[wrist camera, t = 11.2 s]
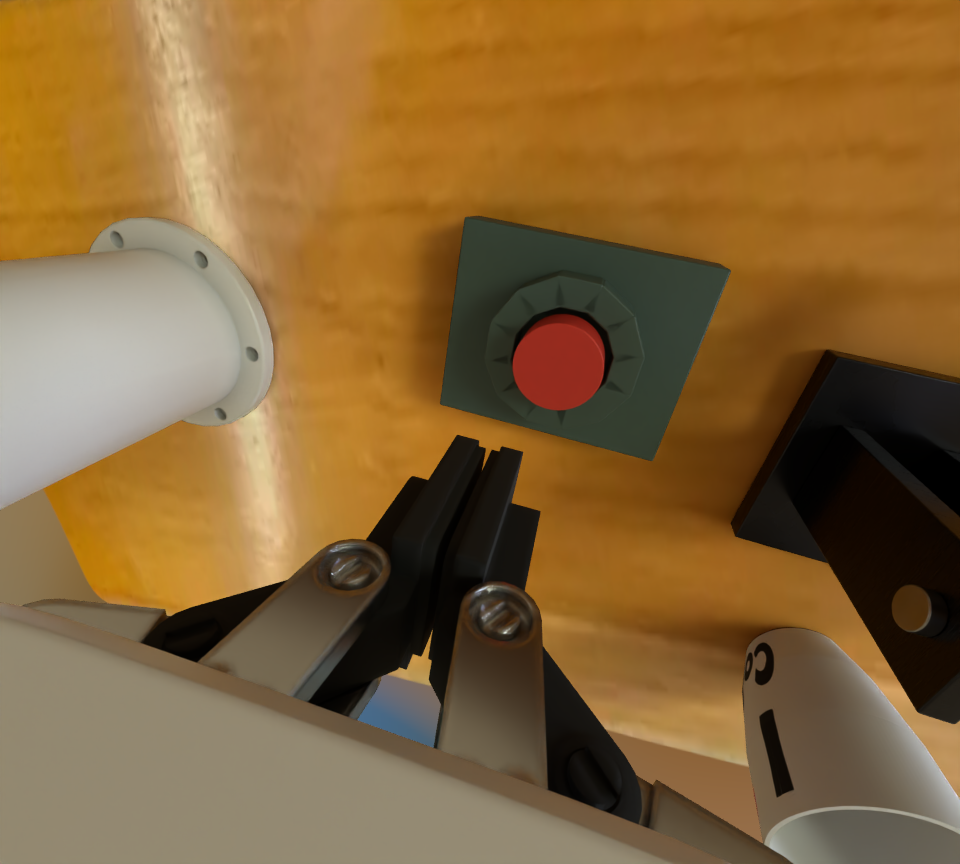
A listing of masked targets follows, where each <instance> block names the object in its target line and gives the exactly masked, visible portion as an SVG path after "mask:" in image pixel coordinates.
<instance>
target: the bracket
mask: <svg viewBox="0 0 960 864" xmlns="http://www.w3.org/2000/svg"><path fill="white" fill-rule="evenodd" d="M731 526H732V529H733V532H734V534H735V536H736V537H738V538H742V539H745V540H749V541H752V542H756V543H759V544H763V545H766V546H770V547H773V548H777V549H780V550H784V551H787V552H791V553H794V554H798V555H801V556H805V557H808V558H812V559H815V560H819V561H822V562H826V563H828V564H829V565H830V567H831V569H832V570H833V572H834V574H835V575H836V577H837V579H838V580H839V582H840V584H841V585H842V587H843V589H844V590H845V592H846V594H847V595H848V597H849V599H850V600H851V602H852V604H853V605H854V607H855V609H856V610H857V612H858V614H859V615H860V617H861V619H862V620H863V622H864V624H865V625H866V627H867V629H868V630H869V632H870V634H871V635H872V637H873V639H874V640H875V642H876V644H877V646H878V647H879V649H880V651H881V652H882V654H883V656H884V657H885V659H886V661H887V662H888V664H889V666H890V667H891V669H892V671H893V672H894V674H895V676H896V677H897V679H898V681H899V682H900V684H901V686H902V687H903V689H904V691H905V692H906V694H907V696H908V697H909V699H910V701H911V702H912V704H913V706H914V707H915V709H916V711H917V712H918V713H920V714H923V715H926V716H929V717H933V718H936V719H939V720H942V721H945V722H948V723H951V724H956V723H957V722H959V721H960V378H957V377H952V376H947V375H943V374H938V373H934V372H929V371H925V370H920V369H915V368H911V367H906V366H902V365H897V364H893V363H888V362H883V361H879V360H874V359H870V358H865V357H861V356H856V355H851V354H847V353H842V352H838V351H833V350H826V352H825V354H824V355H823V357H822V359H821V361H820V363H819V364H818V366H817V368H816V370H815V372H814V373H813V375H812V377H811V379H810V381H809V382H808V384H807V386H806V388H805V390H804V391H803V393H802V395H801V397H800V399H799V400H798V402H797V404H796V406H795V408H794V409H793V411H792V413H791V415H790V417H789V418H788V420H787V422H786V424H785V426H784V428H783V429H782V431H781V433H780V435H779V437H778V438H777V440H776V442H775V444H774V446H773V447H772V449H771V451H770V453H769V455H768V456H767V458H766V460H765V462H764V464H763V465H762V467H761V469H760V471H759V473H758V474H757V476H756V478H755V480H754V482H753V483H752V485H751V487H750V489H749V491H748V492H747V494H746V496H745V498H744V500H743V501H742V503H741V505H740V507H739V509H738V511H737V512H736V514H735V516H734V518H733V520H732V521H731Z"/></svg>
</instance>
